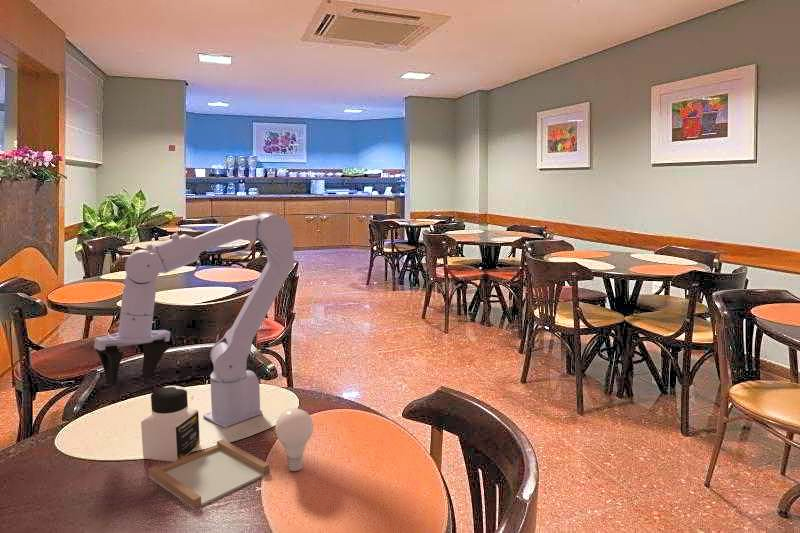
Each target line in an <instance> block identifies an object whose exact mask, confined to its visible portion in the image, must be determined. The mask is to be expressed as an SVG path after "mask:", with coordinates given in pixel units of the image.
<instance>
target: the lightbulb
mask: <svg viewBox="0 0 800 533" xmlns="http://www.w3.org/2000/svg"><path fill="white" fill-rule="evenodd" d="M313 422H314V421H313V420H312V417H311V415H310V414H309V413H308V412H307V411H305V410H303V409H300V408H296V407H295V408H288V409H287V410H285V411H283V412H282V413H280V415H279V416H278V418H277V420H276V423H275V425H274V429H275V431H274V432H275V436H276V437H277V439H278V441H279V443H280V444H281V445H282V446H283V448H284V449H283V450H284V453H285V454H286V463H287V464H286V465H287V466H286V468H287V470H288V471H290V472H291V471H292V472H298V471H300V470H302V469H303V467H304V463H303V462H304V461H303V458H304V456H303V455H304V453H305V449H306V448H305V447H306V445H307V443H308V442H309V440H310V438H311V437H312V435H313V432H314V423H313Z"/></svg>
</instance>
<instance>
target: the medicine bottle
mask: <svg viewBox="0 0 800 533" xmlns="http://www.w3.org/2000/svg"><path fill="white" fill-rule="evenodd" d="M187 390H188V389H186V388H185V387H183V386H178V385H166V386H163V387H159V388H158V389H155V390H154V391H153V392H152V393H151V395H150V406H151V414H150V415H149V416H147V417H146V418H145V419H143V420H142V421H141V422H140V426H141V427H140V429H141V442H142V457H143V459H147V460H153V461H163V462H170V463H172V462H175V461H177V460H180V459H182V458H185V457H187V456H189V454H191V452H193V451H194V450H196V448H197V447H198V446H200V445H201V444H200V442H201V440H200V422H199V421H200V418H199V417H200V416H199V410H198V409H195V408H189V406H188V404H189V403H188V391H187Z"/></svg>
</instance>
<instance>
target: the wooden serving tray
mask: <svg viewBox="0 0 800 533" xmlns="http://www.w3.org/2000/svg"><path fill="white" fill-rule="evenodd" d="M270 471H271V470H270V464H269V463H268V462H265V461H264V460H262V459H260V458H258V457H256V456H254V455H253V454H251V453H249V452H247V451H245V450H243V449H242V448H240V447H237V446H236V445H235V444H232V443H230V442H228V441H227V440H225V439H220V440H217V441H216V445H213V446H212V445H211V446H210V447H208V448H205V449H203V450H200V451H197V452H195V453H193V454H190V455H187V456H186V457H184V458H182V459H180V460H177V461H175V462H170V463H167V464H166V465H162V466H161V467H159V466H157V465H155V466H152V467H150V468H148V478H149V479H151V480H152V481H154V482H155V483H156V484H158V485H159V486H161V487H162V488H164V490H166V491H167V492H169V493H171V495H173V496H175V498H177V499H178V500H180V501H181V502H183V503H184V504H186V505H187V506H188V507H190V508H191V509H193V510H197V509H199V508H200V507H202V506H205V505H207V504H209V503H211V502H214V501H215V500H218V499H219V498H221V497H223V496H225V495H228V494H230V493H232V492H234V491H237V490H239V489H240V488H242V487H244V486H247V485H248V484H250V483H253V482H254V481H257V480H259V479H260V478H263V477H265V476H267V475H268V474H270V473H271V472H270Z"/></svg>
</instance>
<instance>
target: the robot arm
mask: <svg viewBox="0 0 800 533" xmlns="http://www.w3.org/2000/svg"><path fill="white" fill-rule="evenodd" d="M170 237H171V238H169V239H168V240H164V241H161V242H159V243H156V244H154V245H153V244H152V243H150V244H146V249H138V250H137V249H136V250H135V251H133V252H132V253H130V254H129V255H128V257H127V259H126V261H125V263H124V270H125V274H126V276H125V278H124V286H123V288H122V294H121V296H122V297H121V298H122V299H121V304H120V305H121V306H120V314H119V315H120V316H119V324H118V325H119V326H118V332H115V333H112V334H106V335H105V336H99V337H98V336H97V337H94V343H93V348H94V349H95V351H96V354H97V355H98V357H99V359H100V362H101V365H102V368H103V371H104V372H103V373H104V376H105V378H104V379H105V383H106V384H107V385H109V386H111V387H114V386H115V387H116V386H117V382H118V377H119V376H118V374H119V368H120V365H121V362H122V359H123V357H124V353H123V352H121V351H119V347H120V348H121V347H128V346H134V345H142V349H143V350H142V351H143V363H142V377H144V378H146V379H149V380H150V379H153V376H154V374H155V372H156V369H157V367H158V364H159V362H160V360H161V358H162V357H163V356H164V355H165V353H166V351H167V350H168V349H169V344H168V343H166V342H170V339H171V331H168V330H167V329H156V330H154V329H153V321H154V320H153V319H154V311H155V310H154V309H155V303H156V302H155V301H156V295H157V294H156V292H157V291H156V288H155V287H156V280H157V278H158V276H159V275H160V274H162V273H163V274H167V273H169V272H172V271H175V270H178V269H179V268H182V267H185V266H188V265H190V264H193V263H196V262H197V260H198V259H199V256H200V255H201V254H202V253H204V252H206V251H209V250H212V249H215V248H217V247H221V246H223V245H225V244H229V243H232V242H235V241H239V240H244V241H245V240H246V241H252V242H257V241H258V242H259V243H260V245H261V246H262V249H263V252H264V255H265V257H266V259H267V262H266V264H265V266H264V268H263V269H262V271H261V272H260V275H259V276H258V279H257V280H256V281H255V284H254V286H253V288H252V289H251V291H250V293H249V295H248V297H247V298H246V300H245V302H244V303H243V306H242V308H241V309H240V311H239V313H238V314H237V317H236V318H235V320H234V322H233V324H232V325H231V327H230V328H229V329H228V330H227V331H226V332H225V334H223V337H222V338H221V339H220V340H219V341H217V342H216V343H215V344H214V345H213V346H212V347H211V349H210V354H209V356H210V360H211V362H212V366H213V371H212V372H211V374H210V375H209V376H210V378H209V379H210V381H209V382H210V400H211V401H210V402H211V404H210V405H211V411H210V412H207V413H205V414H203V415H202V416H203V417H202V418H205V419H207V420H209V421H210V422H212V423H214V424H216V425H218V426H220V427H222V428H228V427H231V426H232V425H235V424H237V423H241V422H243V421H246V420H248V419H252V418H254V417H257V416H259V415H262V414H263V410H261V396H260V394H261V392H260V388H261V387H260V381H259V379H258V376H257V374H256V373H255V372H254V371H252V370H249V369H247V360H248V358H249V355H250V354H251V352H252V351H251V350H252V346H253V341H254V338H255V337H256V334H257V333H258V331H259V329H260V328H261V325H262V323H263V322H264V320H265V318H266V316H267V314H268V313H269V310H270V308H271V307H272V305H273V304H274V301H275V300H276V298H277V296H278V295H279V292H280V290H281V289H282V287H283V286H284V283H285V281H286V280H287V277H288V276H289V275H290V273H291V271H292V269H293V266H294V262H295V261H294V243H293V242H294V233H293V230H292V228H291V226H290V224H289V222H288V221H287V219H286V218H285V217H283V216H281V215H279V214H274V213H273V212H270V211H263V212H260V213H258V214H257V215H255V214H253V215H249V216H245V217H241V218H239V219H236V220H234V221H230V222H229V223H227V224H223V225H222V226H219V227H216V228H214V229H212V230H209V231H206V232H204V233H202V234H199V235H198V236H194V237H193V236H191V235H188V234H185V233H183V234H180V235H179V234H178V233H175V234H174V233H173V234H172V235H171V236H170ZM152 329H153V330H152Z"/></svg>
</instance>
